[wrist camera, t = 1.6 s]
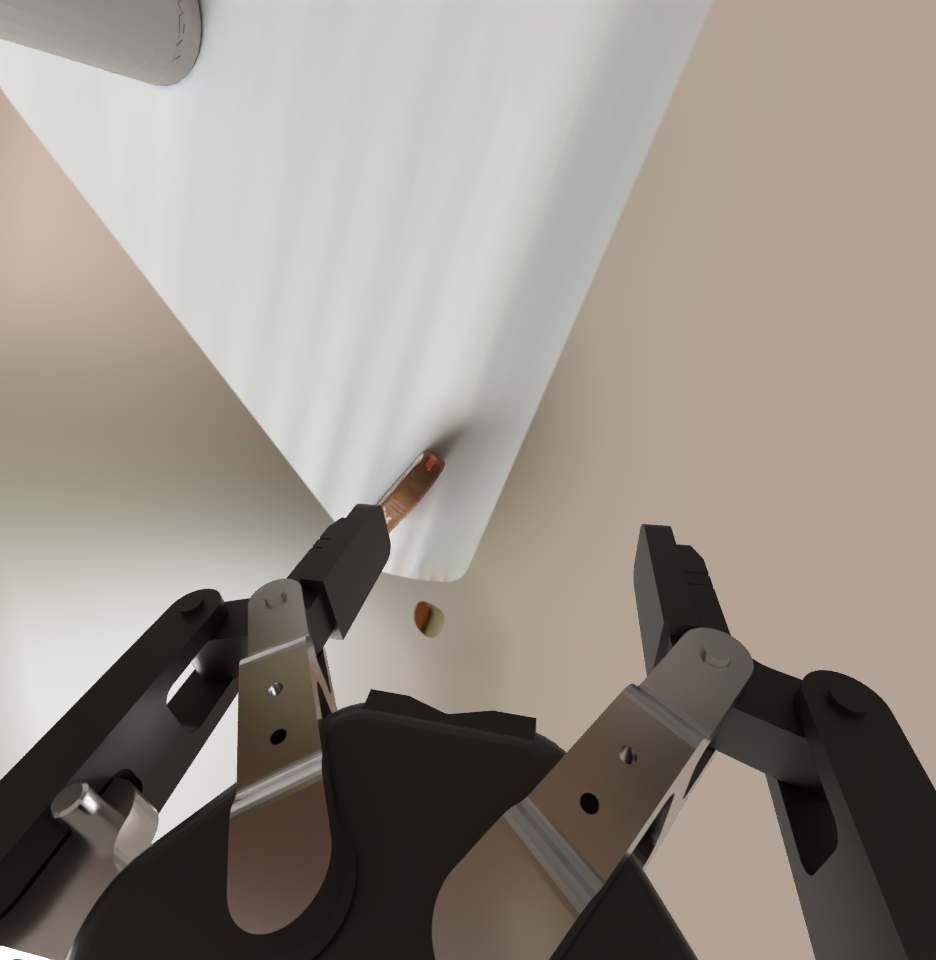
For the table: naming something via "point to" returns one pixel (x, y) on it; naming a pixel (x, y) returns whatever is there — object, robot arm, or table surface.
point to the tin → (410, 488)
